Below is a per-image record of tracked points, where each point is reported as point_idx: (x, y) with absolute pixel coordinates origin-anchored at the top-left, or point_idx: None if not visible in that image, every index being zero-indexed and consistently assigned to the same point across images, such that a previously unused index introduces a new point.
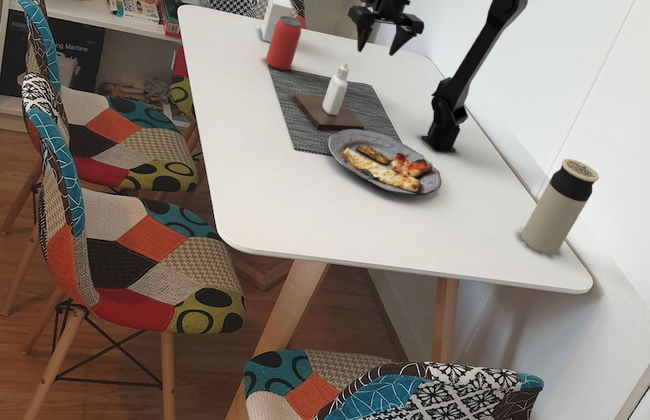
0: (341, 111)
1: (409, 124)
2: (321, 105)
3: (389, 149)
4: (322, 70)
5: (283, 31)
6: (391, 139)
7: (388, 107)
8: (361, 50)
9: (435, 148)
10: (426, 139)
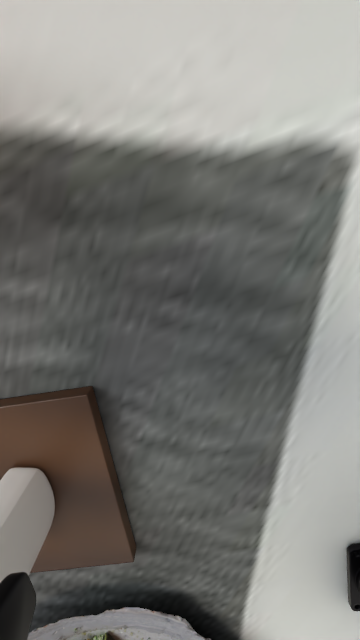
0: (75, 493)
1: (354, 471)
2: (5, 473)
3: (178, 636)
4: (107, 52)
5: None
6: (192, 631)
7: (331, 364)
8: (23, 632)
9: (356, 603)
10: (354, 567)
